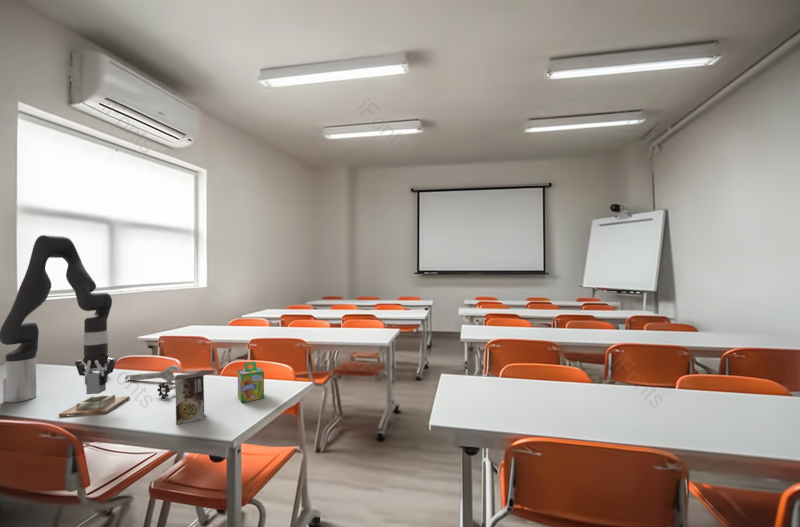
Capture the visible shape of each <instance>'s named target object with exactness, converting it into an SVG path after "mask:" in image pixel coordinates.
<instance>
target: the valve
mask: <svg viewBox="0 0 800 527" xmlns="http://www.w3.org/2000/svg"><path fill="white" fill-rule="evenodd" d="M158 387H159V388H157V392H159V393H158V396H159V397H160V396H161V398H162V399H165V398H168V397H169V396H170V395H169V393H170V392H171V391H172V390H175V383H174V384H173V385H169V384H166V382H161V383H160V384H158Z"/></svg>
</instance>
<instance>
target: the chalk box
mask: <svg viewBox="0 0 800 527" xmlns="http://www.w3.org/2000/svg"><path fill="white" fill-rule="evenodd" d="M249 366H252V367H250V368H249ZM243 367H244V368H243V369H238V370H237V398H238V400H239V401H240V402H241V403H247V402H252V401H257V400H263V399H265V371H264V370H263V369H262V368H260V367H258V366H257V362H256V361H249V362H245V363H244V366H243Z"/></svg>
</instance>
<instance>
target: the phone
mask: <svg viewBox="0 0 800 527" xmlns="http://www.w3.org/2000/svg"><path fill="white" fill-rule="evenodd" d="M198 372H203V376H206V375H208V374H209V375H210V374H212V373H213V371H210V370H199V371H198Z"/></svg>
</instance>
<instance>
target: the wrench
mask: <svg viewBox="0 0 800 527" xmlns="http://www.w3.org/2000/svg"><path fill="white" fill-rule="evenodd" d="M174 371H175V372H181V368H180V366H178V365H175V364H174V365H170V366H169V367H167V368H165V369H164V370H162V371H156V372H145V373H143V372H142V373H133V374H128V375H125V378H124V380H125V381H126V380H127V379H129V380H136V381H143V380H152V379H162V380H164V381H166V383H168V384H169V383H171V382H175V378H176V375H174Z"/></svg>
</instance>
